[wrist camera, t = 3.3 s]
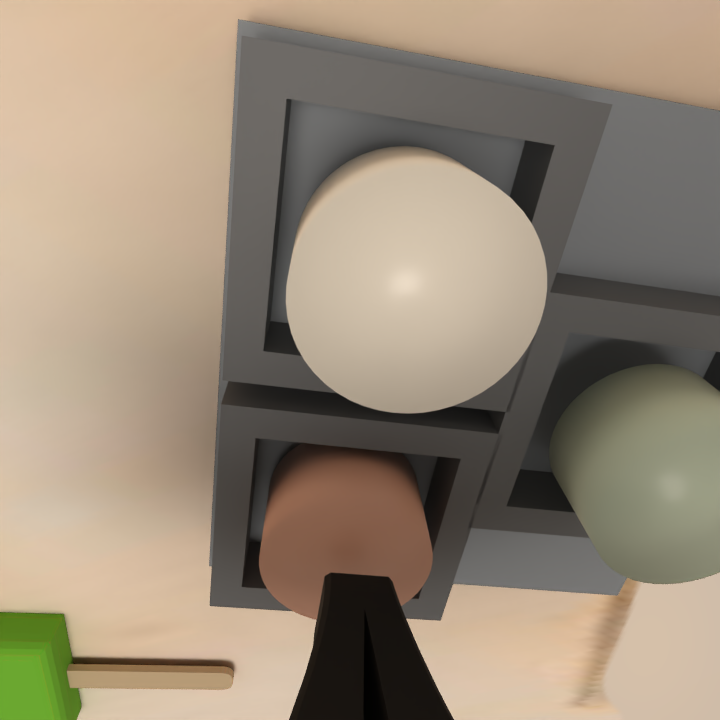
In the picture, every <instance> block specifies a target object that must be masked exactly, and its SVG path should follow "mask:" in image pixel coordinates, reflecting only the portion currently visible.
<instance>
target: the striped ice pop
mask: <svg viewBox="0 0 720 720" xmlns="http://www.w3.org/2000/svg"><path fill="white" fill-rule="evenodd" d="M233 677H234V673H233V670H232V669H231V668H229V667H224V666H169V665H106V664H73V660H72V654H71V649H70V644H69V639H68V634H67V629H66V623H65V618H64V614H41V613H6V612H0V720H77V717H78V715H79V712H80V709H81V701H80V696H79V691H78V688H121V689H206V690H224V689H228V688H230V687H231V686H232V683H233Z"/></svg>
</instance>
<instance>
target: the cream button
mask: <svg viewBox="0 0 720 720" xmlns="http://www.w3.org/2000/svg"><path fill="white" fill-rule="evenodd" d="M546 293H547V269H546V262H545V256H544V252H543V249H542V246H541V243H540V240H539V237H538V235H537V233H536V231H535V229H534V227H533V225H532V223H531V222H530V221H529V219H528V218H527V216H526V215H525V213H524V212H523V210H522V209H521V208H520V207H519V206H518V205H517V204H516V203H515V202H514V201H513V200H512V198H510V197H509V196H508V195H507V194H505V193H504V192H503V191H502V190H500V189H499V188H498V187H496V186H495V185H493V184H492V183H490V182H489V181H487V180H485V179H484V178H482V177H481V176H479V175H478V174H476V173H475V172H473V171H472V170H470V169H469V168H467V167H465V166H464V165H462V164H461V163H459V162H457V161H456V160H454V159H452V158H450V157H449V156H446V155H444V154H441V153H439V152H436V151H433V150H429V149H425V148H421V147H411V146H396V147H387V148H382V149H376V150H373V151H370V152H367V153H364V154H362V155H360V156H358V157H356V158H354V159H351V160H349V161H348V162H346V163H345V164H343V165H342V166H340V167H339V168H337V169H336V170H335V171H334V172H333V173H331V174H330V175H329V176H328V177H327V178H326V179H325V180H324V181H323V182H322V183H321V185H320V186H319V187H318V188H317V189H316V190H315V192H314V193H313V195H312V197H311V198H310V200H309V201H308V203H307V205H306V207H305V209H304V211H303V213H302V215H301V218H300V222H299V225H298V228H297V232H296V237H295V243H294V248H293V253H292V258H291V263H290V268H289V273H288V279H287V285H286V309H287V318H288V322H289V326H290V330H291V334H292V336H293V339H294V341H295V344H296V346H297V348H298V350H299V352H300V354H301V355H302V357H303V359H304V361H305V362H306V363H307V365H308V366H309V367H310V368H311V370H312V371H313V372H314V373H315V374H316V375H317V376H318V377H319V378H320V379H321V380H322V381H323V382H324V383H325V384H326V385H327V386H329V387H330V388H331V389H333V390H334V391H335V392H336V393H338V394H340V395H342V396H343V397H345V398H347V399H349V400H350V401H353V402H355V403H358V404H360V405H362V406H365V407H369V408H372V409H375V410H380V411H386V412H392V413H408V414H409V413H424V412H430V411H436V410H441V409H444V408H448V407H451V406H454V405H457V404H459V403H462V402H464V401H467V400H469V399H471V398H473V397H475V396H476V395H478V394H480V393H482V392H483V391H485V390H486V389H488V388H489V387H491V386H492V385H494V384H495V383H496V382H497V381H499V380H500V379H501V378H502V377H503V376H504V375H505V374H507V373H508V372H509V370H510V369H511V368H512V367H513V366H514V365H515V364H516V363H517V362H518V360H519V359H520V358H521V356H522V355H523V354H524V352H525V351H526V349H527V348H528V346H529V344H530V343H531V341H532V339H533V337H534V335H535V333H536V331H537V328H538V326H539V323H540V321H541V318H542V314H543V310H544V307H545V301H546Z"/></svg>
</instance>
